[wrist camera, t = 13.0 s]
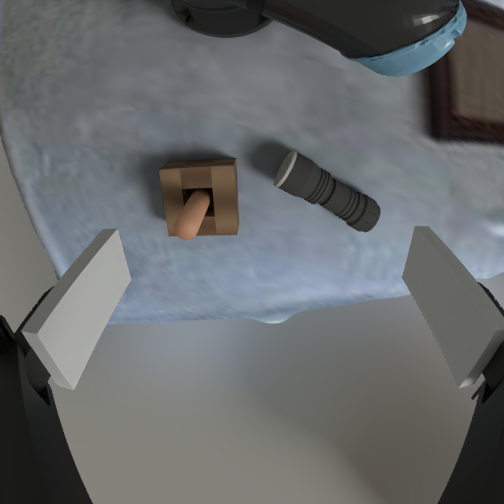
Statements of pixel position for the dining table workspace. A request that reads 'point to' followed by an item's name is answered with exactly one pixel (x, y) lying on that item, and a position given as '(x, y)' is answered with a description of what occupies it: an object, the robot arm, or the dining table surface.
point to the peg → (193, 213)
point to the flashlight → (326, 192)
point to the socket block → (202, 176)
